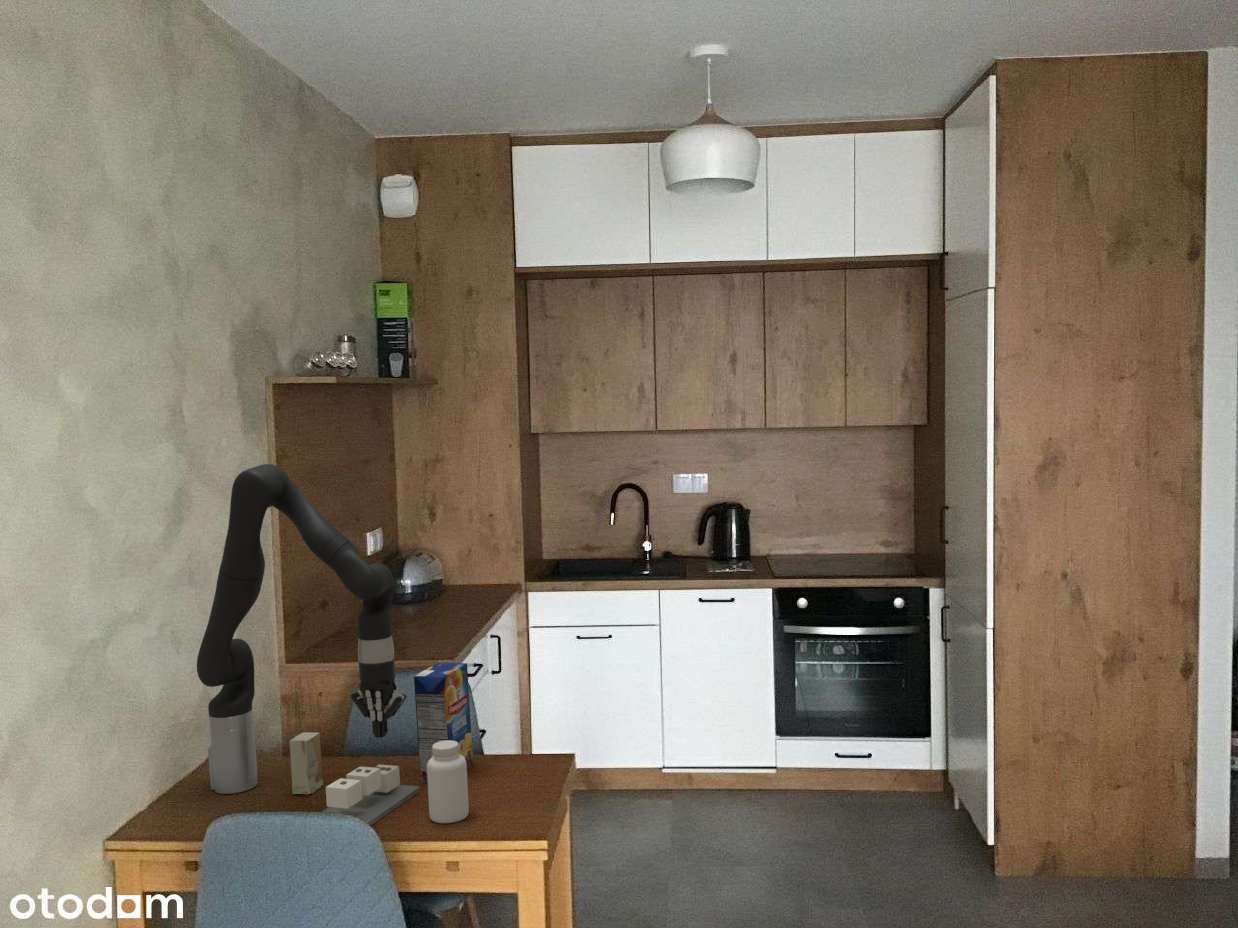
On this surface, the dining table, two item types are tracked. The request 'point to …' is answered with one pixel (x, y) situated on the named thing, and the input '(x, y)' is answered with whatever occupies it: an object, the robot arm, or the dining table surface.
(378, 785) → the key
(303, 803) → the dining table surface
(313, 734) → the skincare box
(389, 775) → the key
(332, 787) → the key
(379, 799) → the grey rectangular board
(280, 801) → the dining table surface
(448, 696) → the juice carton
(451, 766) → the pill bottle
